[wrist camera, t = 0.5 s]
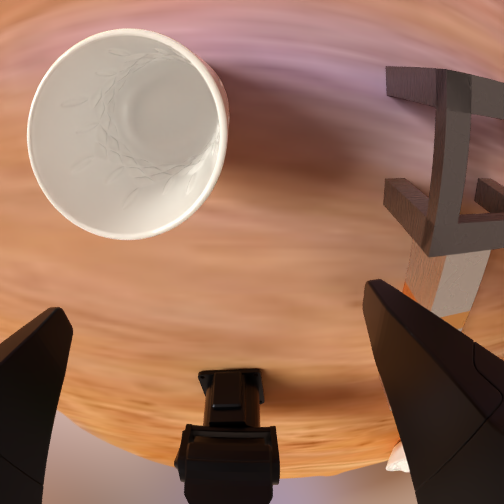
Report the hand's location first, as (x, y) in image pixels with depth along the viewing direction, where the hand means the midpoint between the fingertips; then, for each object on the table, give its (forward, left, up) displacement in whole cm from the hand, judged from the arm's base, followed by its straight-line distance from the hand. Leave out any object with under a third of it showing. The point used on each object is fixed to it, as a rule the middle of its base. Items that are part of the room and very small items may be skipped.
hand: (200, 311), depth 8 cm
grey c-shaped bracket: (+1, -16, -14) cm, 21 cm away
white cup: (+4, +3, -14) cm, 15 cm away
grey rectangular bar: (-15, -16, -14) cm, 26 cm away
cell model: (-50, -26, -14) cm, 58 cm away
